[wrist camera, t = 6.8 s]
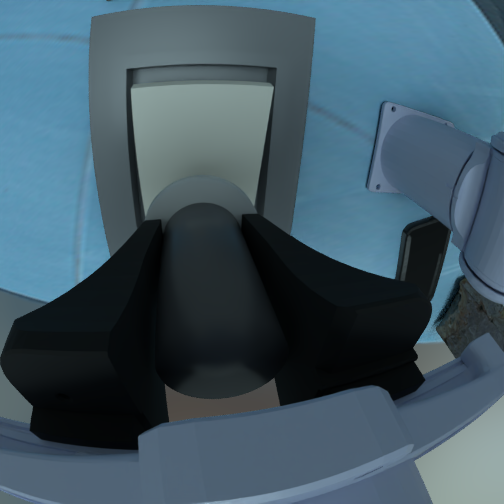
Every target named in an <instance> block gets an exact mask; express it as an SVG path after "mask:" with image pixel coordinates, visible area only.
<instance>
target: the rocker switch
mask: <svg viewBox="0 0 504 504" xmlns="http://www.w3.org/2000/svg"><path fill="white" fill-rule="evenodd" d="M273 89H274V87H273V86H272V85H271V83H265V82H250V81H227V80H192V81H168V82H154V83H143V84H134V85H133V86H132V88H131V101H132V115H133V127H134V137H135V147H136V155H137V164H138V171H139V179H140V186H141V192H142V199H143V205H144V211H145V217H146V214H147V211H148V209H149V207H150V205H151V203H152V201H153V200H154V198H155V197H156V196H157V195H158V194H159V193H160V192H161V191H162V190H163V189H164V188H165V187H166V186H168V185H170V184H171V183H173V182H175V181H177V180H179V179H182V178H185V177H188V176H194V175H211V176H216V177H220V178H223V179H226V180H228V181H230V182H232V183H234V184H235V185H236V186H238V187H239V188H240V189H241V190H242V191H243V192H244V193H245V194H246V195H247V196H248V198H249V199H250V201H251V202H252V204H253V206H254V205H255V199H256V192H257V186H258V180H259V174H260V168H261V162H262V156H263V149H264V143H265V137H266V131H267V125H268V119H269V113H270V107H271V101H272V95H273Z"/></svg>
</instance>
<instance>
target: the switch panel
mask: <svg viewBox="0 0 504 504" xmlns="http://www.w3.org/2000/svg"><path fill="white" fill-rule="evenodd" d="M315 19H316V18H312V17H307V16H303V15H297V14H292V13H286V12H280V11H273V10H266V9H258V8H248V7H235V6H215V5H185V6H165V7H153V8H143V9H135V10H127V11H121V12H115V13H109V14H104V15H99V16H94V17H92V20H91V31H90V47H89V112H90V128H91V141H92V151H93V160H94V169H95V176H96V183H97V190H98V196H99V203H100V208H101V214H102V219H103V224H104V229H105V234H106V239H107V243H108V248H109V252H110V256H111V257H112V256H113V255H114V254H115V253H116V252H117V250H118V249H119V248H121V247H122V246H123V244H124V243H125V242H126V241H127V240H128V239H129V238H130V237H131V236H132V234H133V233H134V232H135V231H136V230H137V229H138V228H139V226H140V225H141V224H142V223H143V222H144V221H145V218H146V217H145V211H144V205H143V199H142V192H141V186H140V179H139V171H138V164H137V155H136V147H135V137H134V127H133V115H132V101H131V88H132V86H133V85H134V84H143V83H154V82H168V81H192V80H227V81H250V82H265V83H271V85H272V86H273V87H274V89H273V95H272V101H271V107H270V113H269V119H268V125H267V131H266V137H265V143H264V149H263V156H262V162H261V168H260V174H259V180H258V186H257V192H256V199H255V205H254V208H255V209H256V211H257V213H258V214H260V215H261V216H263V217H264V218H266V219H267V220H269V221H270V222H272V223H273V224H274V225H276V226H277V227H279V228H280V229H282V230H283V231H285V232H286V233H287V234H289V235H290V233H291V227H292V220H293V213H294V207H295V200H296V193H297V185H298V178H299V171H300V163H301V156H302V148H303V140H304V131H305V123H306V114H307V105H308V96H309V87H310V77H311V66H312V56H313V44H314V32H315Z"/></svg>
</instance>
